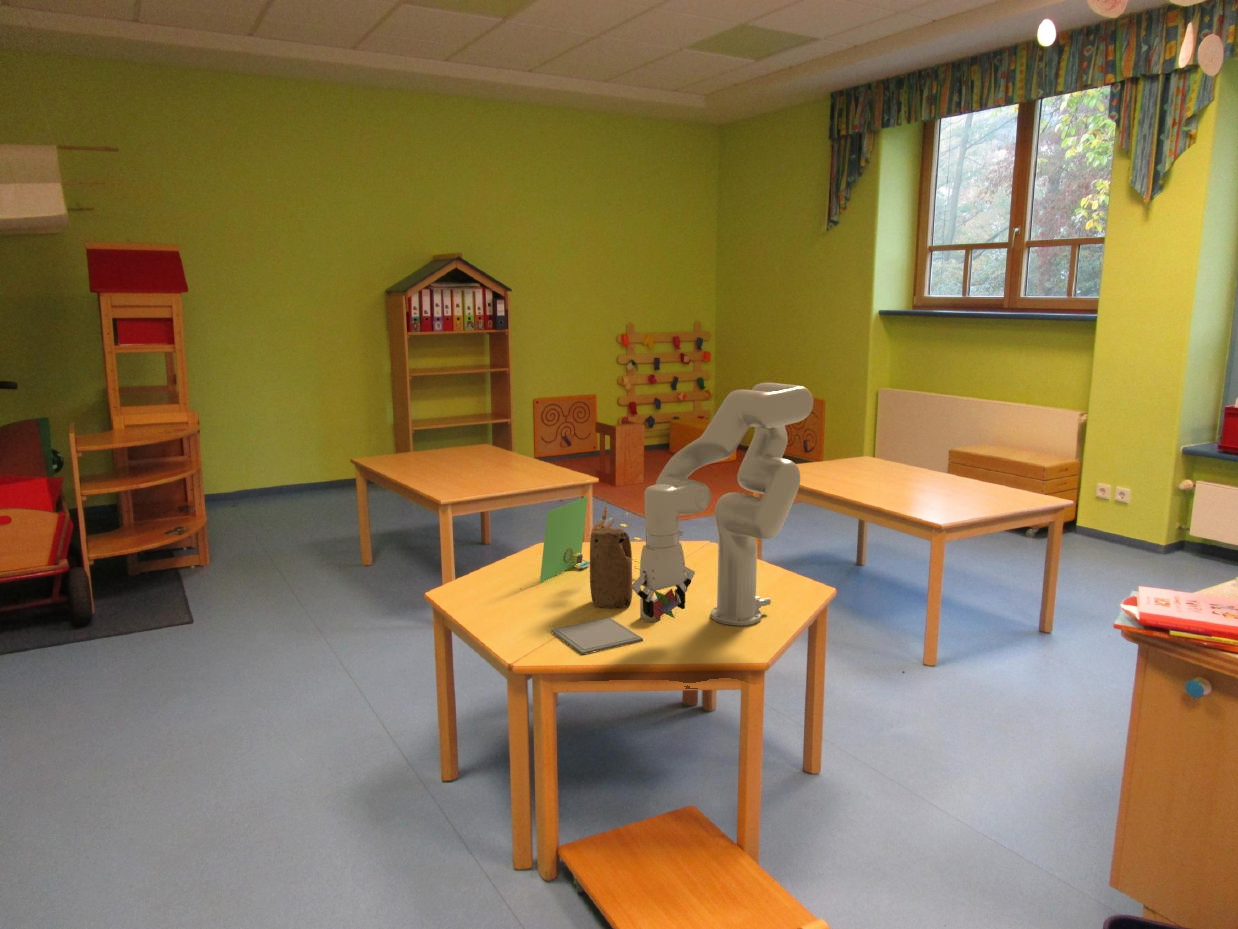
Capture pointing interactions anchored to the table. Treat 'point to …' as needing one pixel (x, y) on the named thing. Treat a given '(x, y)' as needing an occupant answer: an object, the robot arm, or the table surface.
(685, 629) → the table surface
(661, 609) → the geometric puzzle
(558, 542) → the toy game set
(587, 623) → the felt mat
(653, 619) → the tan rounded cylinder
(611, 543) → the block
